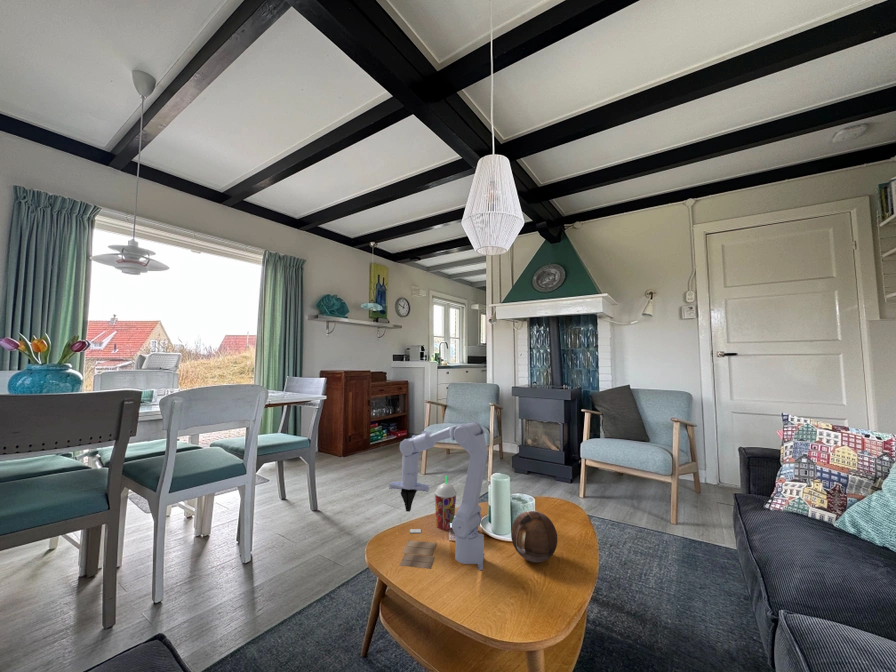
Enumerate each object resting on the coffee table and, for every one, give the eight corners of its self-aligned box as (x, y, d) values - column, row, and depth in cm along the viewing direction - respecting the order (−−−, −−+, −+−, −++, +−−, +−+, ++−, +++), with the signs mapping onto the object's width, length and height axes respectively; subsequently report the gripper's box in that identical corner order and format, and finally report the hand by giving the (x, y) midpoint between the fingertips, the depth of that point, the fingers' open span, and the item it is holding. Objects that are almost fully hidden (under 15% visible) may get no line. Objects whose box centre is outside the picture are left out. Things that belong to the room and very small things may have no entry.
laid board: (434, 561, 114) (434, 556, 114) (431, 573, 108) (431, 568, 108) (404, 558, 116) (404, 553, 116) (399, 570, 109) (399, 565, 109)
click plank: (436, 546, 123) (436, 542, 123) (432, 559, 115) (432, 555, 115) (408, 543, 124) (408, 540, 124) (402, 556, 116) (402, 552, 116)
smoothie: (455, 534, 132) (457, 480, 134) (433, 534, 132) (434, 479, 134) (455, 524, 141) (456, 473, 142) (434, 524, 141) (436, 472, 142)
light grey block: (420, 534, 132) (420, 529, 132) (420, 537, 130) (420, 532, 130) (409, 534, 132) (410, 529, 132) (409, 537, 130) (410, 532, 130)
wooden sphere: (539, 544, 127) (540, 501, 128) (567, 567, 113) (567, 519, 114) (502, 551, 122) (503, 506, 123) (526, 576, 108) (527, 525, 109)
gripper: (431, 470, 132) (430, 507, 131) (393, 467, 134) (392, 504, 133) (427, 475, 125) (426, 515, 124) (388, 473, 127) (386, 512, 126)
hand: (408, 510), depth 128 cm, fingers closed
